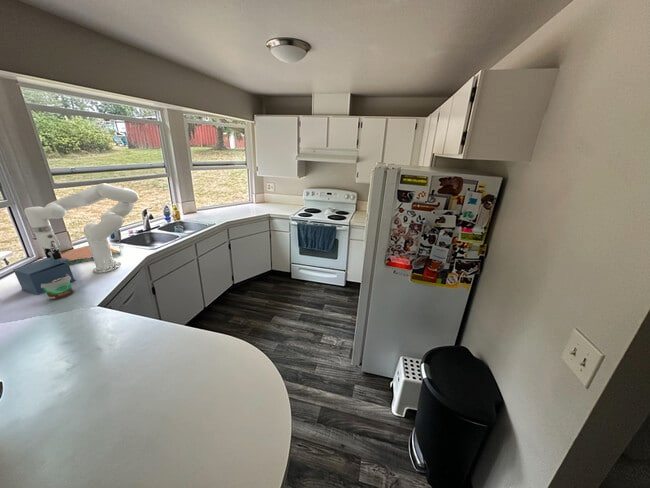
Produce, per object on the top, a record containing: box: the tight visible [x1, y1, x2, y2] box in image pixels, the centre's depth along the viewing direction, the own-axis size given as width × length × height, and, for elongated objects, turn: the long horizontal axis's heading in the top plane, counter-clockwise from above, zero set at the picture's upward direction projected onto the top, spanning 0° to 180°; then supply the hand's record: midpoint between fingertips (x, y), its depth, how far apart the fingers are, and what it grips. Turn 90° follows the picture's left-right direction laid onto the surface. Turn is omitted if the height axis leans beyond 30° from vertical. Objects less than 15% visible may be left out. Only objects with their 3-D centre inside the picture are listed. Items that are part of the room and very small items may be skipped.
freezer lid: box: [13, 252, 69, 275], centre depth 141 cm, size 17×15×5 cm
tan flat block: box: [60, 243, 121, 266], centre depth 184 cm, size 23×33×8 cm
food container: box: [41, 274, 73, 301], centre depth 134 cm, size 12×6×10 cm, turn 168°
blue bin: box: [13, 262, 76, 295], centre depth 144 cm, size 17×15×12 cm
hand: (54, 257), depth 146 cm, fingers closed on freezer lid, 6 cm apart
